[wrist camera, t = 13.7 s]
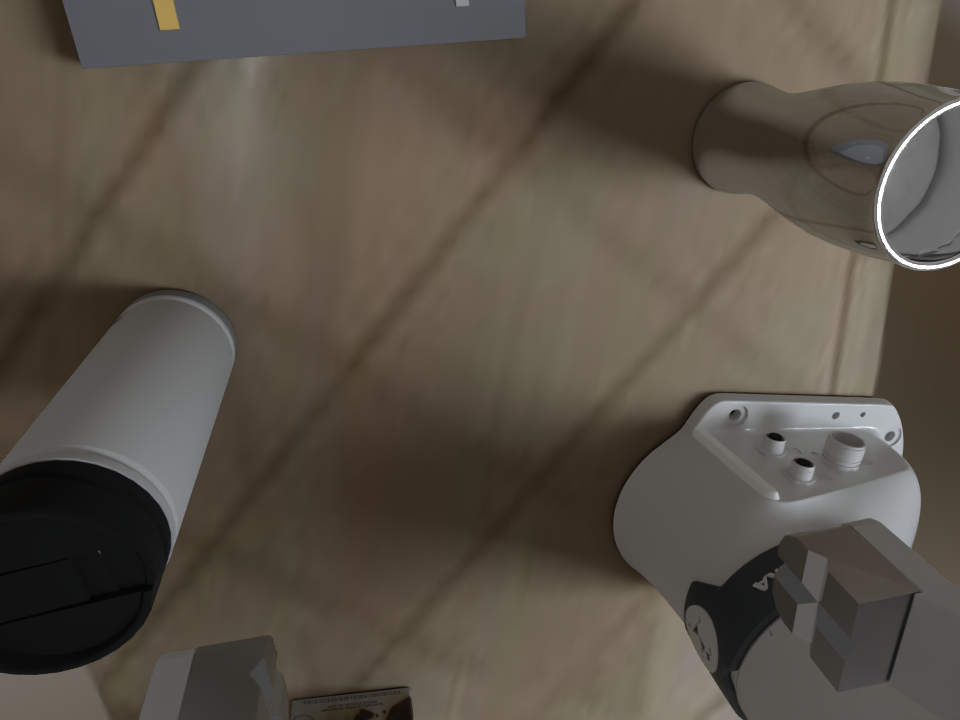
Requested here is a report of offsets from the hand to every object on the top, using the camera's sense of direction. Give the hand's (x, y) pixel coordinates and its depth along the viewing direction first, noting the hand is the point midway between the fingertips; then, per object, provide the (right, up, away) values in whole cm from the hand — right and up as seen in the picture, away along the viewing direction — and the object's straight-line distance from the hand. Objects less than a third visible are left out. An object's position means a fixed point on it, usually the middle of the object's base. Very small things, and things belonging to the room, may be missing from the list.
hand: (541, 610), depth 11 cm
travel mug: (-18, +5, +27) cm, 33 cm away
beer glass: (+14, +17, +28) cm, 36 cm away
